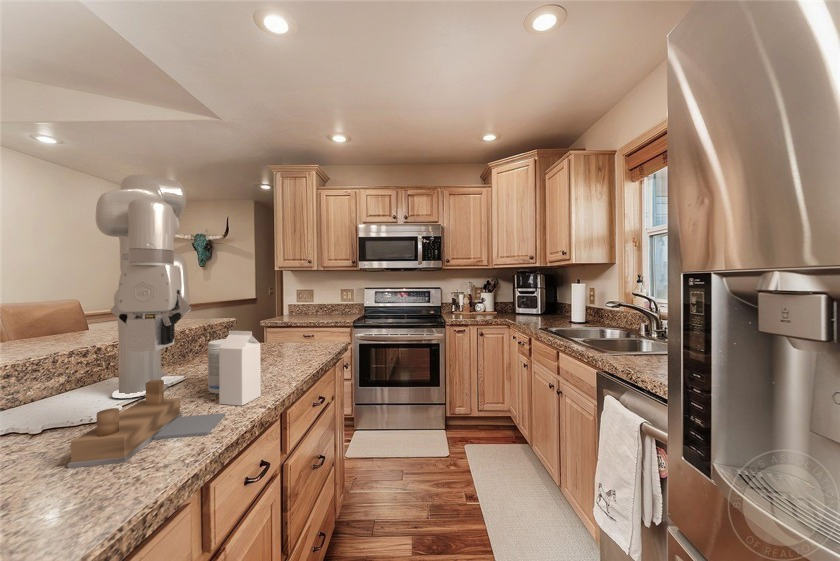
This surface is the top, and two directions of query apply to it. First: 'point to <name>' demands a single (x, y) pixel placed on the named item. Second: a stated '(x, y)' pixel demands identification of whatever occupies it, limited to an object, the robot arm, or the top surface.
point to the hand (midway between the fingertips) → (152, 343)
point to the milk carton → (239, 369)
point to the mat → (190, 426)
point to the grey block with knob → (145, 333)
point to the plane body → (125, 429)
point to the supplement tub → (213, 365)
